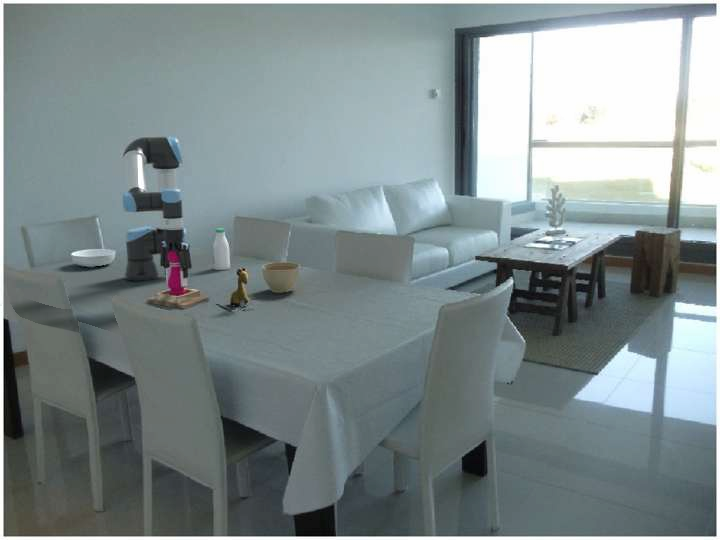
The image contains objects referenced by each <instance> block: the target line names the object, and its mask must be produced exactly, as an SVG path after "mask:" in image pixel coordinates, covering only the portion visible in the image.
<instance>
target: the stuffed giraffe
mask: <svg viewBox="0 0 720 540" xmlns="http://www.w3.org/2000/svg"><path fill="white" fill-rule="evenodd" d="M247 272H248V269H246V267H242V269H241V268H238V269H237V271H236V275H237V277H238V278H237V289H236V290H234V291H232V293H231V297H230V299H229V300H230V301H229V303H230V305H229V304H226V305H219V306H220V307H222V308H225V309H226V310H227V311H229V312H231V311H232V310H235V309H236V308H238V307H240V308H238V309H240V310H244V309H241V308H245V307H244V306H245V305H247V306H250V305H251V304H249V303H248V301H249V299H250V298H249V296H248V295H247V293H246V289H245V286H244V285H248V282H249V276H248V273H247ZM254 304H255V305H256V304H257V303H254ZM233 305H234V306H233ZM250 307H252V306H250ZM244 311H245V310H244Z"/></svg>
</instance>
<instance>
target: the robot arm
mask: <svg viewBox="0 0 720 540" xmlns="http://www.w3.org/2000/svg"><path fill="white" fill-rule="evenodd" d="M180 146H181V145H180V142H179V140H178V138H177V137H174V136H173V137H171V136H151V137H150V136H149V137H148V136H147V137H145V136H144V137H138V138H136V139H134V140H133V141H131V142H130V143H128V145H126V147H125V149H124V152H123V154H122V161H123V164H124V166H125V170H126V173H125V174H126V188H127V191H126V192H127V193H123V194H122V207H123V211H124V212H126V213H143V212H158V216H159V219H158V220H159V222H158V224H156V229H153V228H152V226H148V225H147V226H140V227H135V228H132V229H128V230H127V231H126V233H125V242H126V243H125V245H126V258H127V264H126V268H125V272H124V279H125V280H126V279H127V280H126V281H130V280H138V281H137V282H140V280H145V281H151V280H155V279H157V278H159V277H160V273H159V270H158V268H157V265H156V263H155V262H156V261H155V259H154V258H155V257H154V255H156V256H157V255H160V260H159V261H160V263H159V264H160V266H161V267H163V268H164V275H165V277H166V279H165V280H166V285H168V280H169V277H170V274H171V266H170V263H169V262H170V261H169V260H168V253H169V252H170V251H175V253H176V254H177V255H178V259H179V262H180V265H181V271H180V272H181V287H184V286H186V287H187V286H188V278H189V271H188V270H190V269H192V268H193V266H192V260H191V255H190V254H191V253H190V243H186V242H187V239H186V238H187V230H186V228H185V227H184V218H183V217H184V216H183V201H182V200H183V196H182V191H181V189H180V188H178V185H177V184H178V182H177V179H178V178H177V171H178V170H179V169H180V164H183V157H182V151H181V147H180ZM146 165H152V169H153V170H154V171H155V172H156V184H157V192H147V190H148V189H147V180H146V168H145V166H146ZM178 251H180V252H178ZM150 279H151V280H150Z"/></svg>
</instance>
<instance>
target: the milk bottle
mask: <svg viewBox="0 0 720 540" xmlns="http://www.w3.org/2000/svg"><path fill="white" fill-rule="evenodd" d="M225 234H226V228H225V227H224V228H223V227H222V228H221V227H219V228H215V238H214V241H213V246H212V247H213V249H212V250H213V252H212V253H213V254H212V255H213V257H212V258H213V269H214V270H216V271H225V270H230V268H231V261H230V257H231V256H230V246H229V242H228V240H227V237H226V235H225Z"/></svg>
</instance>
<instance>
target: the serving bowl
mask: <svg viewBox="0 0 720 540" xmlns="http://www.w3.org/2000/svg"><path fill="white" fill-rule="evenodd" d="M70 256H71V259H72V261H73V262H74V263H75V264H76V265H78V266H81V267H85V266H86V268H96V267H95V266H101V267H103V266H102V265H104V266H106V265H109V264H110V263H112V262H114V259H115V258H116V250H113V249H108V248H107V249H105V248H92V249H82V250H76V251H74V252H72V253H71V254H70Z"/></svg>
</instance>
